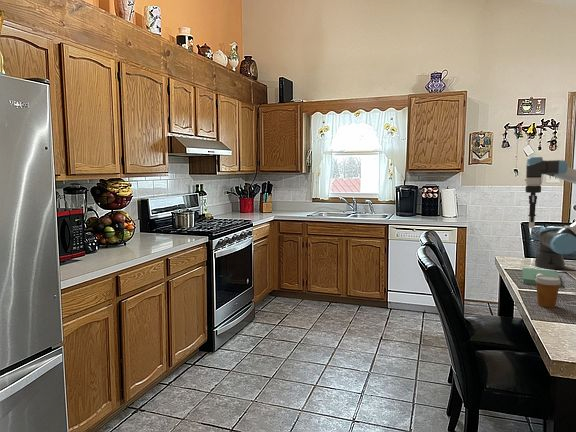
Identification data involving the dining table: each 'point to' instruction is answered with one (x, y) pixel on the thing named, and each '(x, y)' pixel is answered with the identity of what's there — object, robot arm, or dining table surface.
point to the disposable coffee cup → (547, 290)
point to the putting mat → (530, 274)
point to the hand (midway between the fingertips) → (531, 227)
